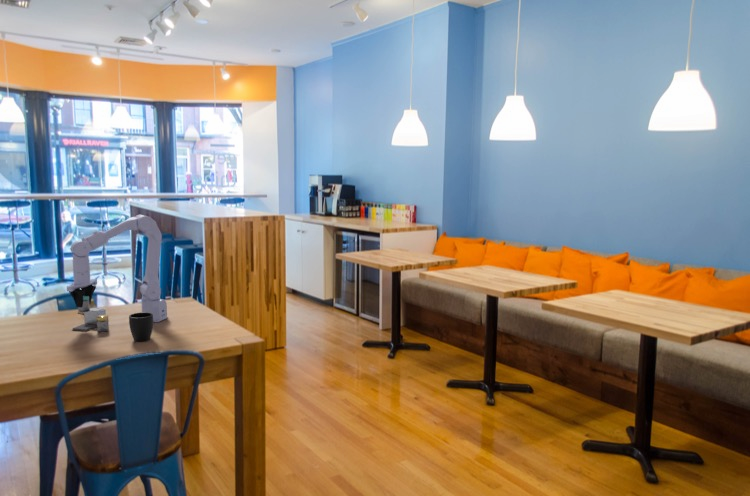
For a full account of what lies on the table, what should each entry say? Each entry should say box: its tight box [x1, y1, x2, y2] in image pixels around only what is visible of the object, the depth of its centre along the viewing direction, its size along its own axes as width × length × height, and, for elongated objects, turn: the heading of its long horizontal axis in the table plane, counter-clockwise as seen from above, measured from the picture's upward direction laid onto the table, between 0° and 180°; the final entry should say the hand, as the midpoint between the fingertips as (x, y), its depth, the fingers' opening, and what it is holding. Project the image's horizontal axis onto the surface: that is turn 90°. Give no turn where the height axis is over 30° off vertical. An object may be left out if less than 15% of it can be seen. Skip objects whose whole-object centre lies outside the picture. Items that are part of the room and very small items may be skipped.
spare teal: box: [77, 295, 90, 313], centre depth 217 cm, size 4×4×6 cm
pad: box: [72, 323, 97, 332], centre depth 218 cm, size 6×6×1 cm
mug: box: [128, 311, 154, 343], centre depth 207 cm, size 8×12×10 cm
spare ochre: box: [96, 314, 110, 334], centre depth 215 cm, size 4×4×6 cm
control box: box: [83, 307, 107, 325], centre depth 224 cm, size 6×5×6 cm
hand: (83, 305), depth 217 cm, fingers closed on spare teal, 4 cm apart
